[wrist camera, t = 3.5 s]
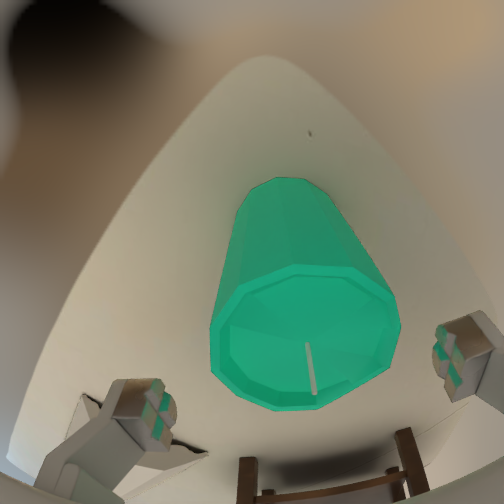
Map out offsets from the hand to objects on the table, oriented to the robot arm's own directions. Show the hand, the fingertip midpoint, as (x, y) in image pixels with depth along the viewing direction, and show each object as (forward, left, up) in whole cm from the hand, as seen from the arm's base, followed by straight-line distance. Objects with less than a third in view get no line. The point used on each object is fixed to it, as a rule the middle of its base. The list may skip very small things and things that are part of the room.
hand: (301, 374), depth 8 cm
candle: (0, 0, -12) cm, 12 cm away
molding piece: (+30, +30, -11) cm, 44 cm away
